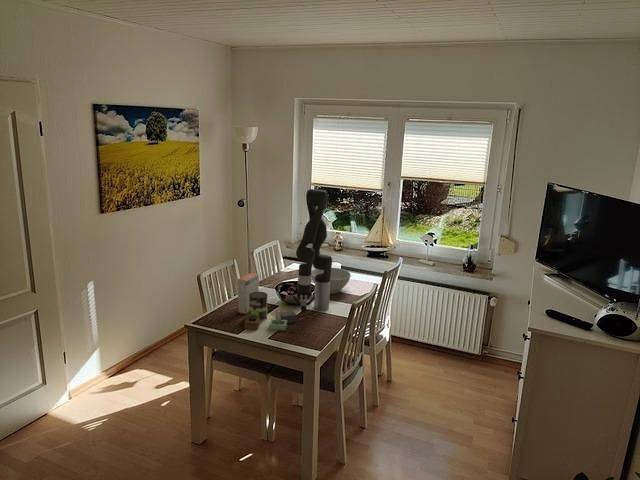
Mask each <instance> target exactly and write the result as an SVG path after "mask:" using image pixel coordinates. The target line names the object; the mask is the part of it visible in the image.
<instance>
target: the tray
mask: <svg viewBox="0 0 640 480" xmlns="http://www.w3.org/2000/svg"><path fill="white" fill-rule="evenodd" d="M287 327H288V323H287V320H281V324H276V318H273V319H270V322H269V323H268V330H269V331H270V330H271V331H286V329H287Z"/></svg>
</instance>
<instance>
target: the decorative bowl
mask: <svg viewBox="0 0 640 480" xmlns="http://www.w3.org/2000/svg"><path fill="white" fill-rule="evenodd" d="M321 273H324V270H319V269H315V268H314V269H313V270H311V278H312V280H311V281H312V282H313V283H314V285H315V276H316V275H317V274H321ZM350 280H351V273H350V272H349V270H346V269H343V268H338V267H332V268H331V277H330V295H332V294H337V293H340V290H343V289H344V288H345V287H346V285H347V284H348V283H349V281H350Z"/></svg>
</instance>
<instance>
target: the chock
mask: <svg viewBox="0 0 640 480" xmlns="http://www.w3.org/2000/svg"><path fill="white" fill-rule="evenodd" d="M281 320H287V324H292V323H297V314H296V313H295V311H293V310H288V311H283V312H282V311H281Z"/></svg>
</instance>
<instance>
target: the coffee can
mask: <svg viewBox="0 0 640 480" xmlns="http://www.w3.org/2000/svg"><path fill="white" fill-rule="evenodd" d="M268 295H269V294H268V293H267V292H264V291H259V292H253V293H250V294H249V313H248V315H249V316H248V317H257V318H260V322H263V321H266V320H267V319H268Z"/></svg>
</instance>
